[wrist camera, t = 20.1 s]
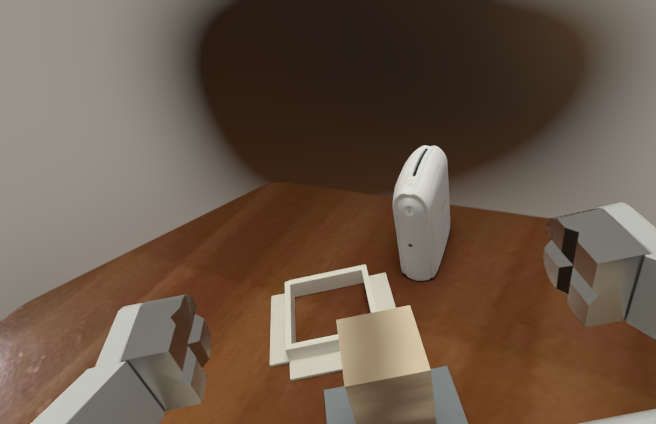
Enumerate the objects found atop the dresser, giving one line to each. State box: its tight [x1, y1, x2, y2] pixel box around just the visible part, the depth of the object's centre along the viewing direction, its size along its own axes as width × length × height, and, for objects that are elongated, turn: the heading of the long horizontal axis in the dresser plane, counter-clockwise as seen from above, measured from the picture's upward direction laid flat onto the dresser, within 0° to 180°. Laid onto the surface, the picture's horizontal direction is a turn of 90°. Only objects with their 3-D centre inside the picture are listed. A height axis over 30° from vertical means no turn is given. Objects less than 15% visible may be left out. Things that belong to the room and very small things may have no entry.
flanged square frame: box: [270, 265, 396, 381], centre depth 45 cm, size 13×13×2 cm
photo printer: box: [393, 145, 450, 281], centre depth 48 cm, size 10×4×12 cm, turn 157°
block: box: [336, 305, 437, 424], centre depth 30 cm, size 5×5×12 cm
